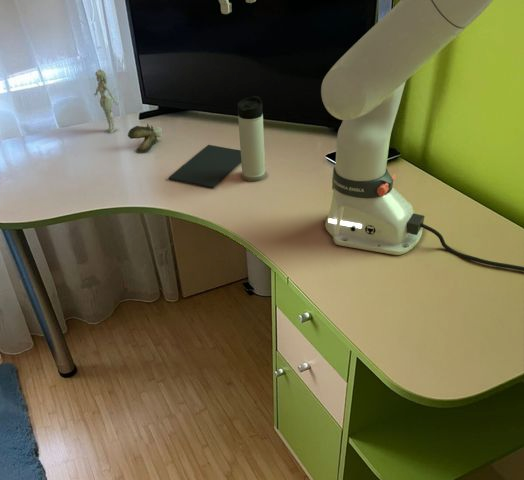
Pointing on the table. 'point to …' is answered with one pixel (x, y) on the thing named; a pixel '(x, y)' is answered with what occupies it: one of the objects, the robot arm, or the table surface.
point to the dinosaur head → (145, 136)
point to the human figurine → (105, 98)
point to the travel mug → (251, 138)
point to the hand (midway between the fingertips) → (239, 7)
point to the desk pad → (208, 166)
